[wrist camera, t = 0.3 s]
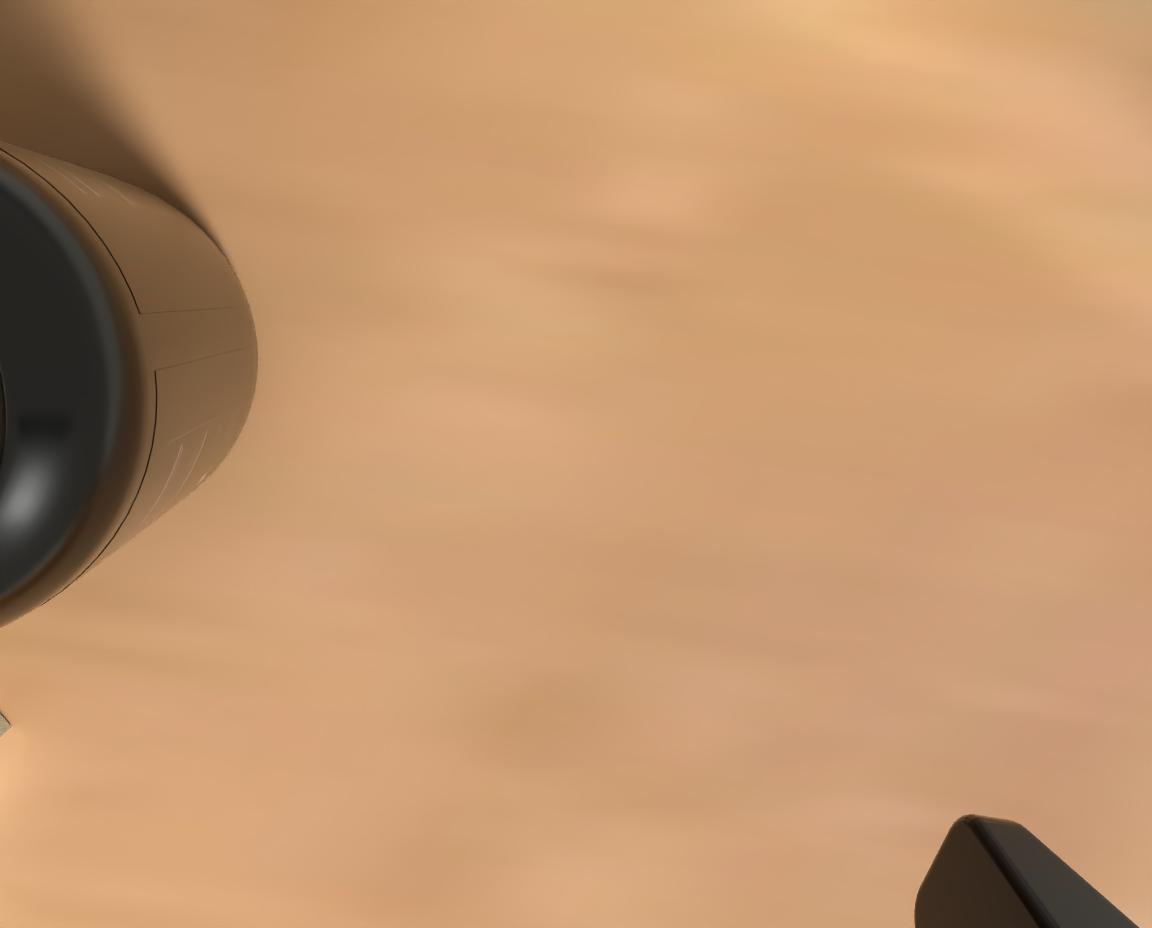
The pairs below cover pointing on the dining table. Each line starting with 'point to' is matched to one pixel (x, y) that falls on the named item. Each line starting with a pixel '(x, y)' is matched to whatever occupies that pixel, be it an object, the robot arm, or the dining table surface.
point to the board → (3, 725)
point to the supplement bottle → (105, 368)
